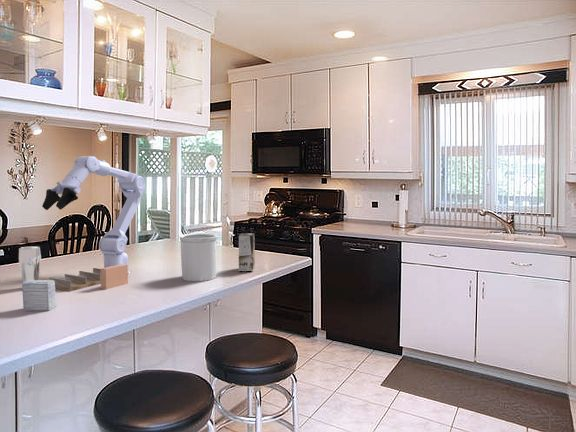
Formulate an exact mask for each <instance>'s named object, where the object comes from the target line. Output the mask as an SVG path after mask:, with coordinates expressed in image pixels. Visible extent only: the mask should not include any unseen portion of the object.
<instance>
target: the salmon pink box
mask: <svg viewBox="0 0 576 432" xmlns="http://www.w3.org/2000/svg"><path fill="white" fill-rule="evenodd" d="M128 265H129V264H128ZM128 265H127V264H119V265H115V266H110V267H106V268H104V267H101V268H100V269H101V284H100V289H102V290H110V289H113V288H116V287H120V286H124V285H127V284H129V275H128V274H129V273H128Z"/></svg>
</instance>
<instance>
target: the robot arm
mask: <svg viewBox="0 0 576 432" xmlns="http://www.w3.org/2000/svg"><path fill="white" fill-rule="evenodd" d="M90 174H94V175H98V176H101V177H107V176H111V177H113V178H116V179H117V184H118V186H119V188H120V190H121V192H122V193H123V196H124V197H125V198H126V200H125V203H124V204H123V207H122V209H121V210H120V212H119V215H118V217H117V218H116V220H115V223H114V224H113V227H112V229H111V230H109V231H107V232H105V234H104V236H103V237H102V238H100V239H99V242H98V248H99V250H100V251H101V253H102V254H103V268H106V267H110V266H115V265H119V264H127V265H128V274H129V273H131V271H130V269H129V256H128V254H127V253H126V252H125V251H126V248H127V243H128V240H129V239H128V237H127V235H126V232H127V230H128V229H129V227H130V224H131V222H132V220H133V218H134V216H135V214H136V212H137V209H138V207H139V205H140V203H141V200H142V196H143V193H144V191H145V189H146V181H145V178H144V177H143V176H141V175H138V174H137V173H134V172H130V171H127V170H123V169H119V168H115V167H111V165H110V163H108V162H106V160H105V159H98V158H97V157H96V156H94V155H93V156H92V155H87V156H86V155H83V156H78V157H76V158H75V160H74V164H73V166H72V168H71V169H70V171H69V172H67V174H66V175H65V176H64V178H63V179H62V181H57V182H56V183H55V184H56V186H54V187H52V188H48V189H46V191H45V199H44V201H43V202H42V206H41V207H42V208H43V209H44V210H46V211H48V210H49V209H50V208H52V207H53V205H55V204H56V205H55V206H56V208H58V209H59V210H63V209H65V207H67V206H68V205H69V204H70V203H72V202H74V201H76V200H78V199H79V196H77V195H79V194H81V192H82V189H81V188H80V186H81V184H83V182H84V181H85V180H86V179H87V177H88V176H89V175H90ZM60 195H61V196H60Z"/></svg>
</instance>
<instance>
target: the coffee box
mask: <svg viewBox="0 0 576 432" xmlns="http://www.w3.org/2000/svg"><path fill="white" fill-rule="evenodd" d="M255 240H256V239H255V233H254V232H253V233H252V232H250V233H248V232H245V233H240V234H239V235H238V272H239V271H253V272H254V270H253V269H255V268H254V267H255V261H256V260H255V255H256V254H255V247H256V246H255V243H256V241H255Z"/></svg>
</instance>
